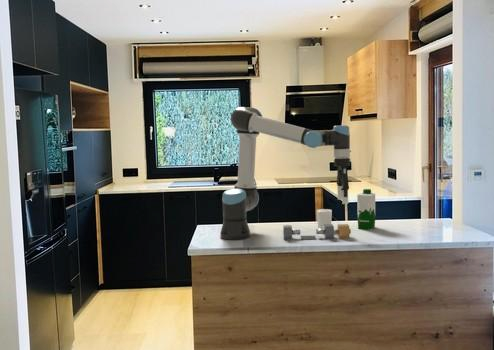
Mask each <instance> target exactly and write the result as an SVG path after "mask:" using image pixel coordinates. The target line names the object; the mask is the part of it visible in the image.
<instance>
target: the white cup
mask: <svg viewBox="0 0 494 350" xmlns="http://www.w3.org/2000/svg"><path fill="white" fill-rule="evenodd" d="M332 212H333V210H332V209H330V208H329V209H328V208H326V209H325V208H321V209H320V208H319V209H316V223H317V229H324V224H332V218H333V216H332V215H333V213H332Z"/></svg>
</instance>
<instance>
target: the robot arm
mask: <svg viewBox="0 0 494 350" xmlns="http://www.w3.org/2000/svg"><path fill="white" fill-rule="evenodd" d="M230 123H231V125H232V127H233V128H234V129H236V134H237V135H238V136H239V145H238V166H237V167H238V169H237V182H236V183H235V184H234V187H233V188H232V189H227V190H225V191H224V192H223V193H222V198H221V201H222V216H223V217H222V220H223V223H222V225H221V229H220V233H219V234H220V238H221V239H223V240H229V241H233V240H234V241H237V240H246V239H249V238H251V229H250V227H249V225H248V221H247V212H248V211H250V212H251V211H252V210H254V208H256V207H257V205H258V203H259V200H260V197H259V196H260V195H259V193H258V192H257V185H256V184H255V173H256V172H255V168H256V167H255V166H256V150H257V148H256V147H257V137H258V136H259V135H260V134H263V135H268V136H271V137H275V138H279V139H282V140H286V141H289V142H294V143H298V144H300V145H303V146H307V147H308V148H312V149H315V148H317V147H322V146H323V147H327V146H329V147H331V146H332V147H333V157H334V159H333V165H334V167H337V168H336V169H337V175H336V186H337V200H339V201H340V200H341V202H342V203H341V204H342V205H346V204H347V205H348V204H349V189H350V186H349V176H348V175H349V174H348V168H346V167H349V166H351V158H350V156H351V152H352V151H351V150H350V149H351V146H350V145H351V143H350V142H351V141H350V140H351V139H350V137H351V133H350V126H349V125H334V126H333V129H329V130H328V129H323V130H321V129H320V130H316V129H315V130H314V129H310V128H305V127H302V126H299V125H298V126H297V125H295V124H290V123H286V122H283V121H280V120H275V119H271V118H269V117H268V118H267V117H263V115H262V112H261V111H260V110H259V109H258V108H255V107H251V106H250V107H249V106H248V107H246V106H239V107H237V108H235V109H233V111H232V112H231V114H230Z"/></svg>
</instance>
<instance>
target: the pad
mask: <svg viewBox="0 0 494 350" xmlns="http://www.w3.org/2000/svg"><path fill="white" fill-rule="evenodd" d="M300 239H301V240H302V241H304V240H305V241H309V240H310V241H311V240H312V239H313V240H314V239H315V240H317V238H316V235H300Z"/></svg>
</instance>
